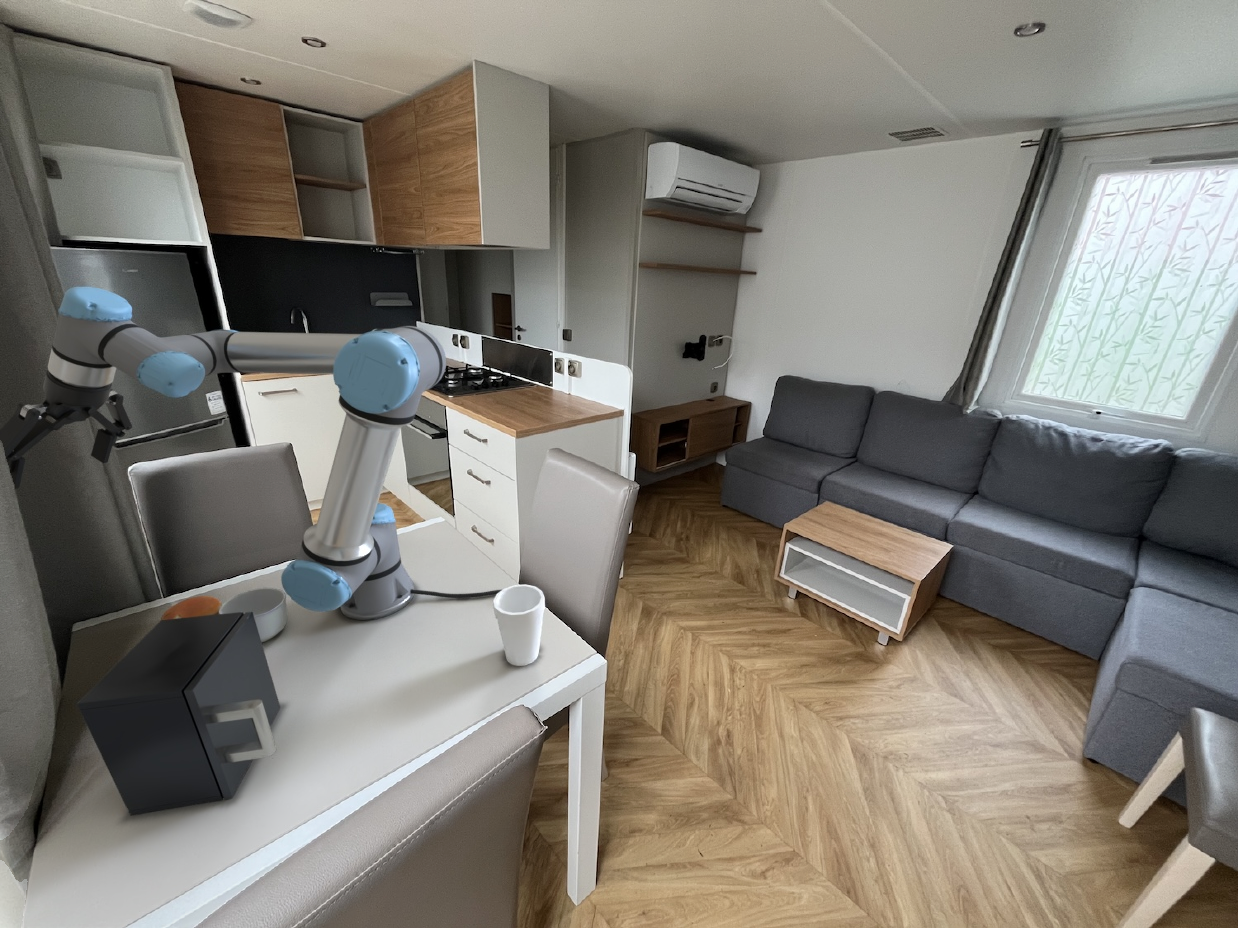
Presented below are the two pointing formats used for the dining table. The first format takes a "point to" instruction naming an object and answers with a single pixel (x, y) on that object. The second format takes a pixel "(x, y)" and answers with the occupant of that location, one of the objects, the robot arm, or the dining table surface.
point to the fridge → (157, 716)
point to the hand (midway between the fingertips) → (57, 470)
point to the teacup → (261, 609)
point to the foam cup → (520, 622)
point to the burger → (193, 608)
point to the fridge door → (235, 705)
